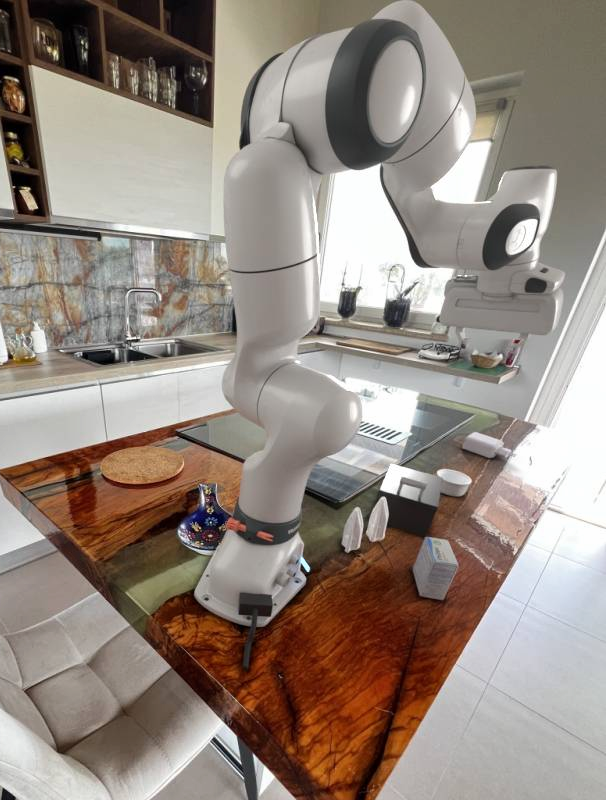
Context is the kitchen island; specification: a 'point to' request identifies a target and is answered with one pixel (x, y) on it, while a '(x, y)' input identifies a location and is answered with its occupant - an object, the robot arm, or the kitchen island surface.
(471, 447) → the white bottle
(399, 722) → the kitchen island surface
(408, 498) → the black box lid
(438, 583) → the medicine box
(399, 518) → the black open box
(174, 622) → the kitchen island surface
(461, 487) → the ramekin
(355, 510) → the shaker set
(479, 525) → the kitchen island surface
